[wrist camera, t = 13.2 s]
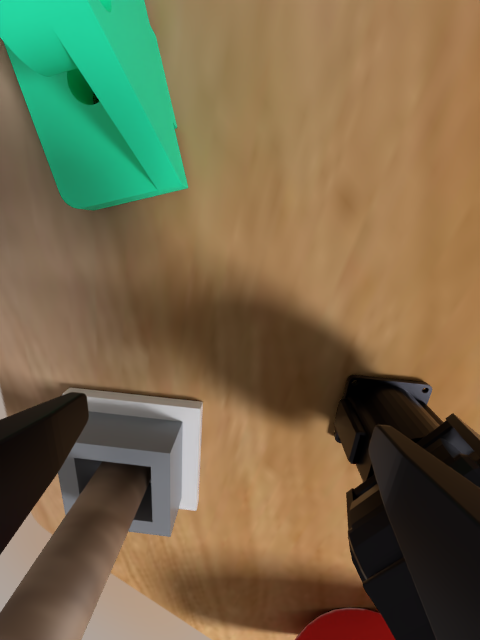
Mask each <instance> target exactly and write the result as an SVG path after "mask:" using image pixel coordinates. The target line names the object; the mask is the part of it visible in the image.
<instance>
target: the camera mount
mask: <svg viewBox="0 0 480 640" xmlns="http://www.w3.org/2000/svg"><path fill="white" fill-rule="evenodd" d="M0 38H1V39H2V40H3V42H4V44H5V47H6V50H7V53H8V55H9V58H10V61H11V63H12V66H13V69H14V72H15V74H16V77H17V80H18V82H19V85H20V88H21V90H22V93H23V96H24V99H25V101H26V104H27V107H28V109H29V112H30V115H31V117H32V120H33V123H34V126H35V128H36V131H37V134H38V136H39V139H40V142H41V144H42V147H43V150H44V153H45V155H46V158H47V161H48V163H49V166H50V169H51V171H52V174H53V177H54V180H55V182H56V185H57V188H58V190H59V193H60V195H61V197H62V199H63V200H64V202H65V203H66V204H68V205H69V206H71V207H73V208H77V209H85V210H98V209H103V208H107V207H111V206H115V205H119V204H124V203H128V202H132V201H136V200H140V199H145V198H149V197H153V196H157V195H161V194H166V193H170V192H174V191H178V190H182V189H187V188H188V184H187V180H186V176H185V172H184V167H183V163H182V159H181V155H180V150H179V146H178V142H177V138H176V133H175V128H177V125H176V121H175V116H174V112H173V108H172V103H171V99H170V95H169V91H168V86H167V82H166V78H165V73H164V69H163V65H162V61H161V56H160V52H159V48H158V43H157V39H156V36H155V34H154V32H153V30H152V28H151V26H150V23H149V19H148V15H147V10H146V6H145V2H144V0H0ZM93 93H95V95H96V96H97V98H98V99H99V102H98V103H96V104H94V103H93Z"/></svg>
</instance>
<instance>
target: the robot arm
mask: <svg viewBox="0 0 480 640" xmlns="http://www.w3.org/2000/svg"><path fill="white" fill-rule="evenodd" d="M354 380H357V381H356V382H355V383H352V382H353V381H354ZM423 388H425V389H424V390H422V389H423ZM431 392H432V387H431V386H430V385H429V384H427V383H426V382H418V381H408V380H399V379H389V378H379V377H369V376H360V375H352V376H350V377H349V378H348V379H347V383H346V387H345V391H344V396H343V398H342V399H341V400H340V401H339V405H338V409H337V413H336V418H335V422H334V425H335V428H336V429H335V433H334V437H335V440H336V441H337V442H338V443H342V446H343V448H344V451H345V453H346V456H347V458H348V461H349V462H350V463H351V464H356V466H357V468H358V471H359V473H360V475H361V478H362V480H363V483H362V484H360V485H359V486H358V487H356V488H355V489H353V488H352V489H351V490H349V491H348V492H347V493H346V498H347V515H348V539H349V546H350V552H351V556H352V561H353V564H354V565H355V567H356V570H357V572H358V574H359V576H360V578H361V580H362V582H363V587H364V589H365V591H366V593H367V594H368V595H369V597H370V598H371V600H372V601H373V603H374V604H375V606H376V607H377V609H378V610H379V612H380V613H381V615H382V617H383V619H384V620H385V622H386V624H387V626H388V627H389V629H390V631H391V633H392V635H393V636H394V638H395V640H480V435H479V434H477V433H476V432H475V431H474V430H473V429H471V428H470V427H469V426H468V425H467V424H465V423H464V422H463V421H462V420H461V419H459V418H458V417H457V416H456V415H454V414H453V413H452V414H451V415H450V416H448V417H447V418H446V420H447V421H445V422H443V421H442V420H441V419H440V418H439V417H438V416H437V415H436V414H435V413H434V412H433V411H432V410H431V409H430V408H429V407H428V406H427V403H428V400H429V398H430V395H431ZM88 419H89V411H88V402H87V396H86V394H84V393H79V392H70V393H67V394H65V395H62V396H60V397H57V398H54V399H52V400H49V401H47V402H44V403H42V404H39V405H37V406H34V407H32V408H29V409H27V410H24V411H21V412H19V413H16V414H14V415H11V416H9V417H6V418H4V419H1V420H0V554H1V553H2V551H3V550H4V549H5V547H6V546H7V544H8V543H9V541H10V540H11V539H12V537H13V536H14V534H15V533H16V532H17V530H18V529H19V527H20V526H21V524H22V523H23V521H24V520H25V519H26V517H27V516H28V514H29V513H30V512H31V510H32V509H33V507H34V506H35V505H36V503H37V502H38V500H39V499H40V497H41V496H42V495H43V493H44V492H45V490H46V489H47V487H48V486H49V485H50V483H51V482H52V480H53V479H54V478H55V476H56V475H57V473H58V472H59V470H60V469H61V467H62V465H63V464H64V462H65V460H66V459H67V457H68V455H69V453H70V452H71V450H72V448H73V446H74V445H75V443H76V441H77V440H78V438H79V436H80V434H81V433H82V431H83V429H84V427H85V426H86V424H87V422H88Z"/></svg>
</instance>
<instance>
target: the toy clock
mask: <svg viewBox="0 0 480 640" xmlns="http://www.w3.org/2000/svg"><path fill="white" fill-rule="evenodd" d="M295 640H395V638H394V636H393V635H392V633H391V631H390V629H389V627H388V626H387V624H386V622H385V620H384V619H383V617H382V615H381V613H377V612H374V611H370V610H367V609H360V608H343V609H336V610H332V611H330V612H327V613H325V614H323V615H320V616H319V617H317V618H316V619H315V620H313V621H312V622H311V623H309V624H308V625H307V626H306V627H305V628H304V629H303V630H302V631H301V633H300V634H299V635H298V636H297V637H296V639H295Z"/></svg>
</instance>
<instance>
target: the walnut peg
mask: <svg viewBox="0 0 480 640" xmlns="http://www.w3.org/2000/svg"><path fill="white" fill-rule="evenodd" d="M150 480H151V467H148V466H140V465H131V464H123V463H114V462H106V461H102V463H101V464H100V466H99V467H98V469H97V470H96V472H95V473H94V475H93V476H92V478H91V479H90V481H89V482H88V483H87V485H86V486H85V488H84V489H83V491H82V492H81V494H80V495H79V497H78V498H77V500H76V501H75V503H74V504H73V506H72V507H71V509H70V510H69V512H68V513H67V515H66V516H65V518H64V519H63V521H62V522H61V524H60V525H59V526H58V528H57V529H56V531H55V532H54V534H53V535H52V537H51V538H50V540H49V541H48V543H47V544H46V546H45V547H44V549H43V550H42V552H41V553H40V555H39V556H38V558H37V559H36V561H35V562H34V564H33V565H32V567H31V568H30V570H29V571H28V573H27V574H26V575H25V577H24V579H23V580H22V581H21V583H20V584H19V586H18V587H17V589H16V590H15V592H14V593H13V595H12V596H11V598H10V599H9V601H8V602H7V604H6V605H5V607H4V608H3V610H2V611H1V612H0V640H81V639H82V637H83V635H84V632H85V630H86V628H87V625H88V623H89V621H90V619H91V616H92V614H93V612H94V609H95V607H96V605H97V602H98V600H99V597H100V595H101V593H102V590H103V588H104V586H105V584H106V582H107V579H108V577H109V575H110V572H111V570H112V568H113V565H114V563H115V561H116V558H117V556H118V554H119V552H120V549H121V547H122V545H123V542H124V540H125V538H126V535H127V533H128V531H129V528H130V526H131V524H132V521H133V519H134V517H135V515H136V512H137V510H138V508H139V505H140V503H141V501H142V498H143V496H144V494H145V491H146V489H147V487H148V485H149V482H150Z"/></svg>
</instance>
